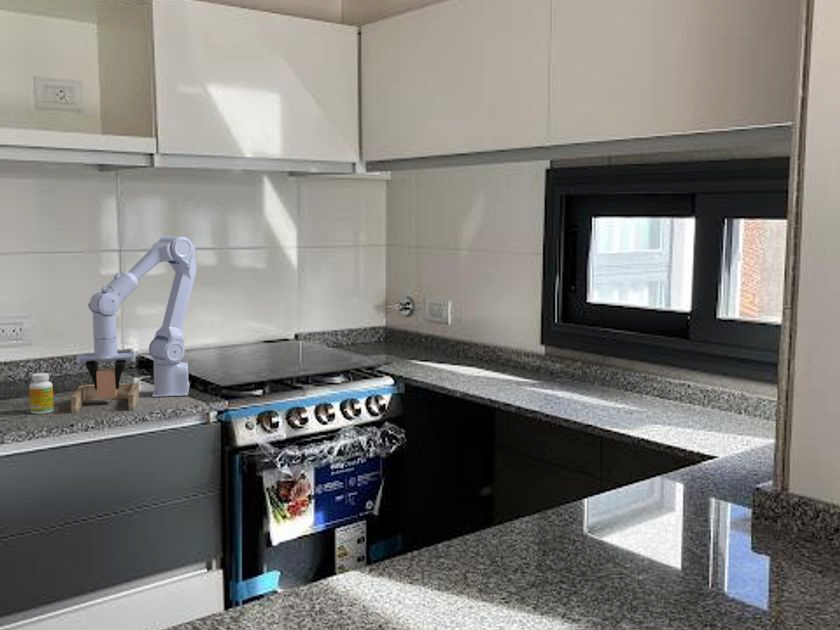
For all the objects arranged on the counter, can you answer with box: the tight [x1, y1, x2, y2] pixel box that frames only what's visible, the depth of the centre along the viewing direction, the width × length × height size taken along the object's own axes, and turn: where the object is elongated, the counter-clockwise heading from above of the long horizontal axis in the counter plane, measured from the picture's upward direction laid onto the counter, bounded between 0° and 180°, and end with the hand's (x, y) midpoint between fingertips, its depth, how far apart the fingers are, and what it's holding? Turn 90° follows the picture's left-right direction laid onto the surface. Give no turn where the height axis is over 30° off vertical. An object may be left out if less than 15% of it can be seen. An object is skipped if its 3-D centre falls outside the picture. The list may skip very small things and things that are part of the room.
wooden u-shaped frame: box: [70, 382, 140, 414], centre depth 230 cm, size 15×16×4 cm
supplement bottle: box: [28, 372, 54, 415], centre depth 221 cm, size 5×5×10 cm
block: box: [96, 367, 117, 398], centre depth 231 cm, size 4×4×7 cm
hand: (107, 388), depth 231 cm, fingers closed on block, 4 cm apart
